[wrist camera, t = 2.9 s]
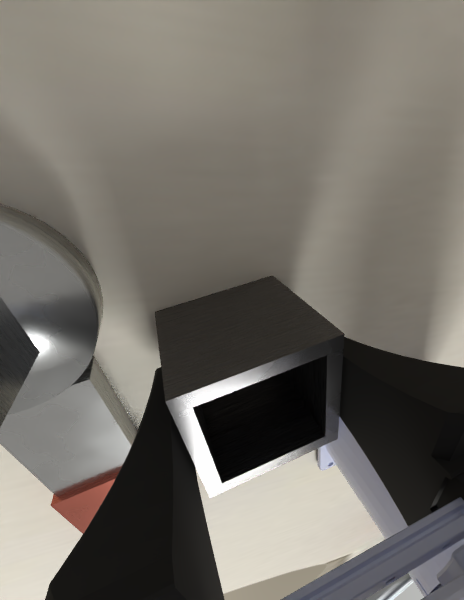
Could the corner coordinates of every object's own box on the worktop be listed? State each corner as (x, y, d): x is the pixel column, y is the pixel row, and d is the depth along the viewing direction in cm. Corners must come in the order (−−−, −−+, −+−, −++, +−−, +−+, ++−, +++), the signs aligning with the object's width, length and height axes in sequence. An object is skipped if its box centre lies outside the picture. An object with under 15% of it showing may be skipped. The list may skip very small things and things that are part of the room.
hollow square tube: (272, 275, 12) (344, 333, 8) (281, 361, 15) (337, 438, 11) (154, 312, 11) (165, 401, 7) (188, 397, 14) (209, 498, 10)
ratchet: (48, 174, 8) (-49, 182, 4) (205, 505, 20) (224, 597, 15) (-239, 226, 7) (-876, 328, 2) (111, 549, 18) (103, 664, 14)
